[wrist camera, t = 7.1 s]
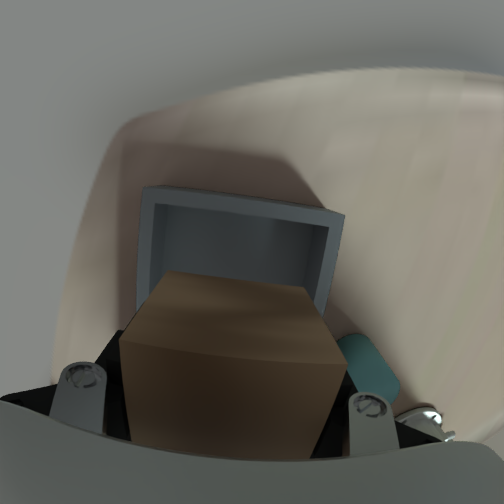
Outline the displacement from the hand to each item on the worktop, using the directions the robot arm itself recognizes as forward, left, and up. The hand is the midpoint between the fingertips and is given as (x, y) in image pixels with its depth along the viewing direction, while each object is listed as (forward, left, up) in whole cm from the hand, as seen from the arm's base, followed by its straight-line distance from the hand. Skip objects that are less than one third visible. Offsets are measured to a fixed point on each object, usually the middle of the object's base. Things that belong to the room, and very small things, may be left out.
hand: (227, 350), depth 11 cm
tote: (0, +4, -15) cm, 16 cm away
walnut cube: (0, 0, -1) cm, 1 cm away
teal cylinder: (-13, +9, -15) cm, 22 cm away
